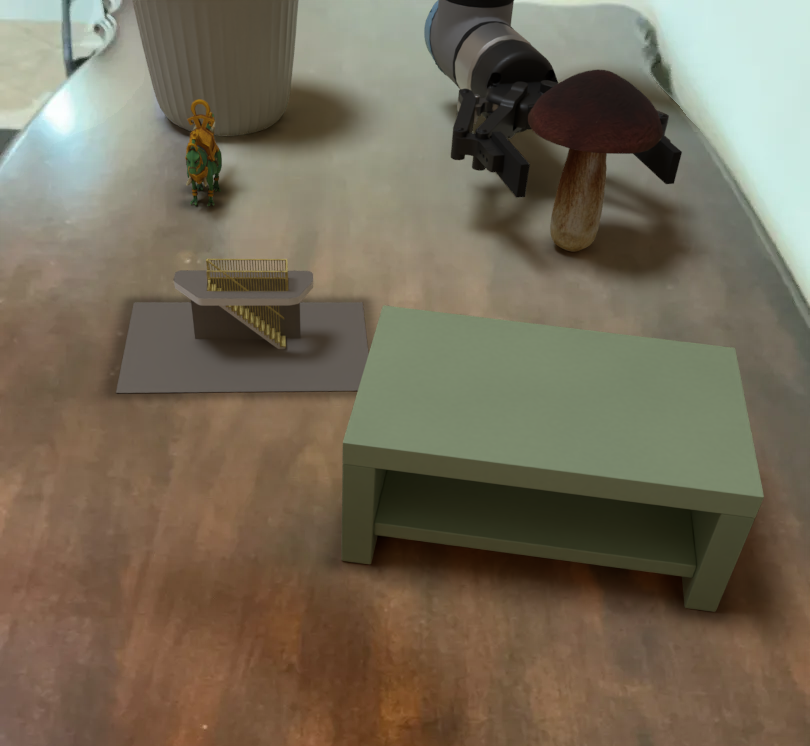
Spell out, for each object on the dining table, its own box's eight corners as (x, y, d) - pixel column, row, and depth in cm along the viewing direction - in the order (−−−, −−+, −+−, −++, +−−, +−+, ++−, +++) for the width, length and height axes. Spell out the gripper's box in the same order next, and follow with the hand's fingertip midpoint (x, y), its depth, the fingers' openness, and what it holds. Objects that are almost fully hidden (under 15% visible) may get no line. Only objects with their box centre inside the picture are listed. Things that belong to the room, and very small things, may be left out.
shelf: (696, 459, 66) (735, 347, 60) (715, 612, 56) (764, 497, 50) (377, 419, 67) (382, 304, 61) (340, 561, 57) (342, 442, 51)
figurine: (179, 219, 86) (169, 127, 81) (201, 162, 95) (192, 75, 89) (214, 221, 86) (206, 129, 81) (232, 164, 95) (226, 77, 89)
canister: (275, 165, 95) (265, -84, 81) (105, 136, 98) (66, -111, 83) (332, 101, 108) (333, -125, 93) (181, 76, 111) (158, -147, 96)
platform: (372, 390, 70) (375, 310, 65) (115, 392, 68) (100, 310, 63) (362, 302, 78) (364, 225, 74) (133, 302, 76) (121, 223, 72)
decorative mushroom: (528, 210, 92) (555, 39, 81) (643, 236, 89) (685, 63, 79) (493, 261, 84) (517, 81, 74) (617, 291, 82) (660, 109, 71)
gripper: (614, 111, 99) (720, 205, 85) (380, 127, 93) (452, 231, 79) (630, 32, 94) (746, 118, 80) (383, 43, 88) (460, 138, 74)
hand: (600, 174), depth 79 cm, fingers open, 13 cm apart
